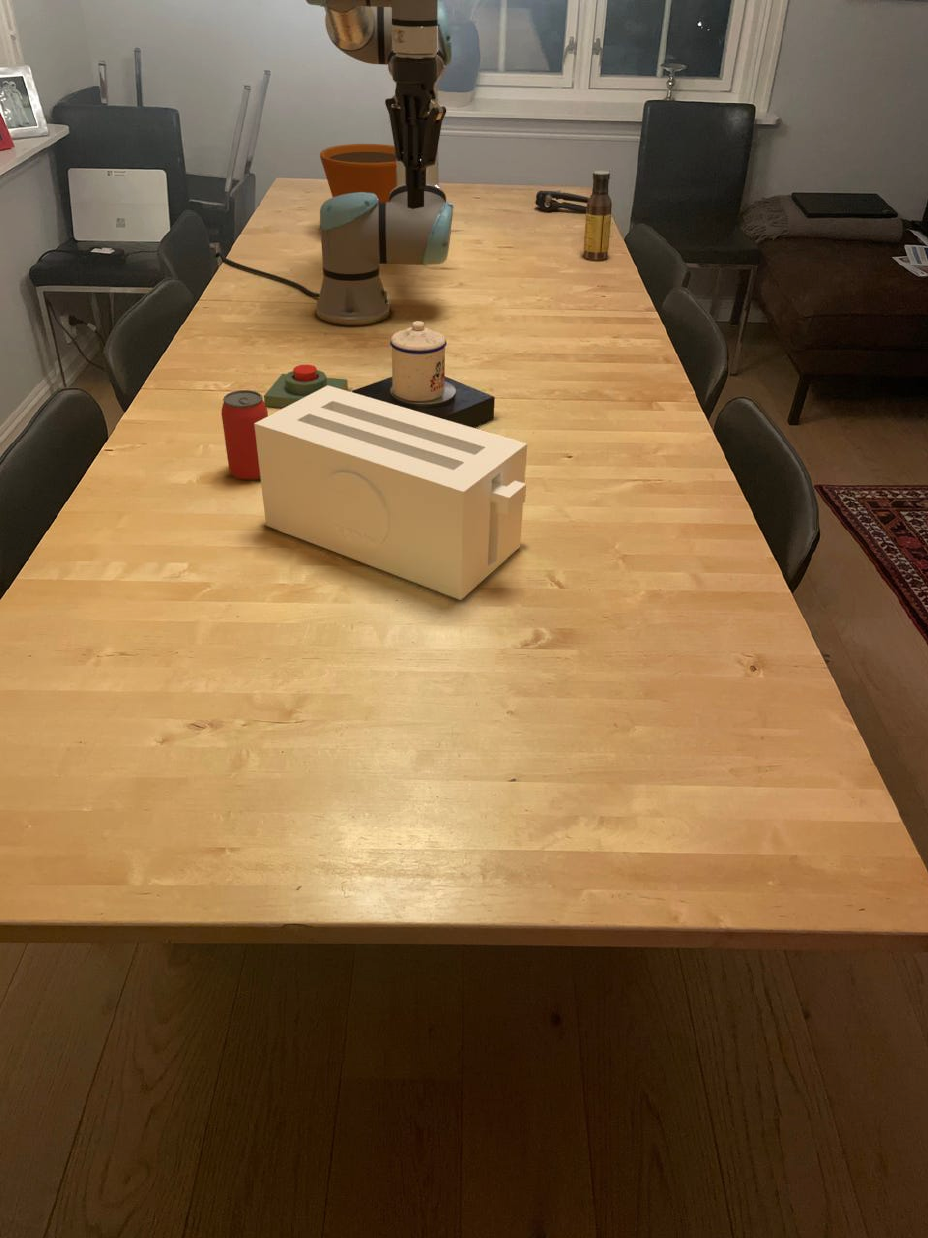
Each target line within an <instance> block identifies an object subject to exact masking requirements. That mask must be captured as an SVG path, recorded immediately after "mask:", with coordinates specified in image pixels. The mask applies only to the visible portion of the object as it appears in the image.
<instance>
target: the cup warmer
mask: <svg viewBox="0 0 928 1238" xmlns="http://www.w3.org/2000/svg"><path fill="white" fill-rule="evenodd" d="M351 392H353V393H356V394H359V395H363V396H366V397H370V398H373V399H376V400H380V401H383V402H387V403H390V404H393V405H397V406H400V407H404V408H407V409H410V410H414V411H417V412H421V413H424V414H428V415H431V416H434V417H438V418H441V419H445V420H448V421H451V422H455V423H458V424H462V425H465V426H468V427H472V428H475V427H477V426H481V425H483V424H484V423H487V422H489V421H492V420H494V419H495V398H496V397H495V396H494V395H492V394H489V393H487V392H484V391H481V390H479V389H477V388H475V387H472V386H469V385H467V384H464V383H462V382H460V381H457V380H455V379H452V378H450V377H448V376H446V375H445V384H444V393H443V394H442V395H441V396H440V397H438V398H436V399H433V400H429V401H409V400H405V399H402V398H399V397H398V396H396V395H395V394H394V392H393V381H392V376H390V377H387V378H383V379H382V380H378V381H375V382H373V383H370V384H366V385H364V386H362V387H359V388H356V389H353V390H351Z"/></svg>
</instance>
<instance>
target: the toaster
mask: <svg viewBox="0 0 928 1238" xmlns="http://www.w3.org/2000/svg"><path fill="white" fill-rule="evenodd" d="M254 425H255V434H256V442H257V451H258V460H259V468H260V477H261V478H260V485H261V495H262V503H263V510H264V512H263V513H264V520H265V526H266V527H268V528H271V529H274V530H275V531H279V532H282V533H284V534H287V535H289V536H293V537H295V538H298V539H300V540H303V541H305V542H308V543H310V544H313V545H315V546H318V547H321V548H324V549H326V550H328V551H331V552H334V553H337V554H339V555H342V556H344V557H347V558H350V559H352V560H355V561H358V562H360V563H362V564H365V565H369V566H370V567H373V568H376V569H378V570H380V571H382V572H383V571H384V572H386V573H389V574H391V575H394V576H396V577H399V578H402V579H403V580H406V581H409V582H412V583H415V584H417V585H420V586H423V587H425V588H428V589H430V590H434V591H436V592H438V593H441V594H443V595H446V596H449V597H451V598H454V599H456V600H459V601H462V600H463V599H464V598H465V597H466V596H468V594H470V593H471V592H472V591H473V590H474V589H475V588H476V587H477V586H479V585H480V584H481V583H482V582H483V581H485V579H486V578H488V576H490V575H491V574H492V573H493V572H494V571H495V570H496V569H498V567H499V566H501V565H502V564H503V563H505V561H506V560H508V559H509V557H511V556H512V555H513V554H514V553H515V552H516V551H517V550H519V549H520V547H521V540H522V525H523V513H524V512H523V511H524V503H525V502H526V495H527V494H526V493H527V484H526V483H525V482H526V469H527V468H526V467H527V452H528V443H526V442H523V441H520V440H517V439H512V438H509V437H506V436H502V435H499V434H495V433H492V432H489V431H485V430H482V429H479V428H475V427H473V428H472V427H468V426H465V425H462V424H458V423H455V422H451V421H448V420H445V419H441V418H438V417H434V416H431V415H428V414H424V413H421V412H417V411H414V410H410V409H407V408H404V407H400V406H397V405H393V404H390V403H387V402H383V401H380V400H376V399H373V398H370V397H366V396H363V395H359V394H356V393H353V392H352V391H349V390H348V391H345V390H342V389H339V388H335V387H332V386H328V385H327V386H325V387H324V388H322V389H320V390H318V391H316V392H314V393H312V394H310V395H308V396H306V397H304V398H302V399H300V400H298V401H297V402H295V403H293V404H291V405H289V406H287V407H285V408H280V409H279V410H277V411H276V412H274V413H272V414H270V415H268V417H266V418H264V419H262V420H260V421H258V422H256V423H254Z"/></svg>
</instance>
